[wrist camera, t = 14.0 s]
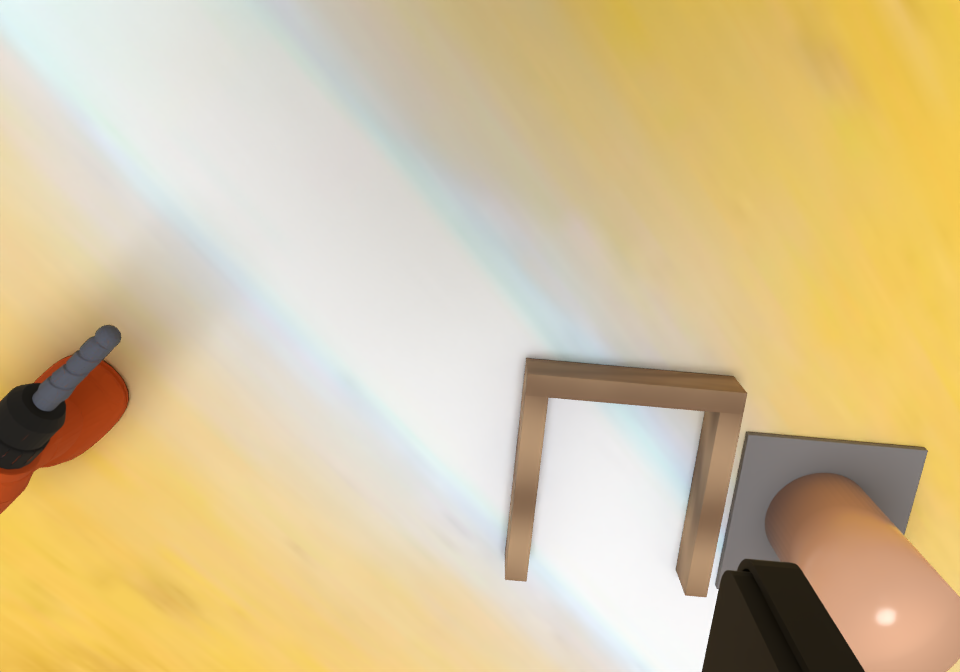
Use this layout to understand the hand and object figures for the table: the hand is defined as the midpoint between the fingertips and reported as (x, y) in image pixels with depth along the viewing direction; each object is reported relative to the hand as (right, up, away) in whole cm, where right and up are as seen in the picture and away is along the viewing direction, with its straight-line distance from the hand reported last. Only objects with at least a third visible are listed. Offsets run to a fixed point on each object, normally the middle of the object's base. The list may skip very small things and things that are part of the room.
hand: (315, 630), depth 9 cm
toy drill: (-18, +2, +35) cm, 39 cm away
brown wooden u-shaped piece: (+10, -4, +36) cm, 37 cm away
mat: (+21, -7, +37) cm, 43 cm away
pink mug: (+21, -8, +37) cm, 43 cm away
